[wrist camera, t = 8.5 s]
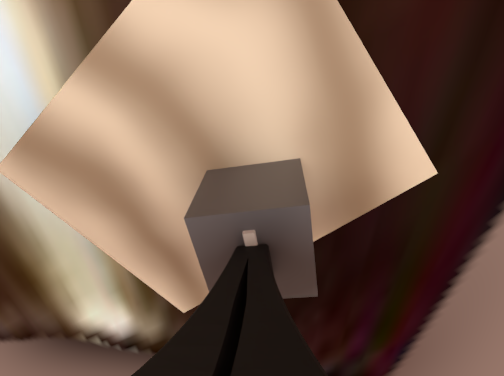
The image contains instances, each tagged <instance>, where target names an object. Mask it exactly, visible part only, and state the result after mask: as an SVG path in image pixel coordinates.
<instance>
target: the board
mask: <svg viewBox="0 0 504 376" xmlns="http://www.w3.org/2000/svg"><path fill="white" fill-rule="evenodd" d="M298 158H300V160H301V165H302V170H303V175H304V179H305V184H306V189H307V194H308V198H309V203H310V212H311V224H312V235H313V242H314V241H316V240H317V239H319V238H321V237H323V236H325V235H326V234H328V233H330V232H332V231H334V230H336V229H337V228H339V227H341V226H343V225H345V224H346V223H348V222H350V221H352V220H354V219H356V218H357V217H359V216H361V215H363V214H365V213H366V212H368V211H370V210H372V209H374V208H376V207H377V206H379V205H381V204H383V203H385V202H386V201H388V200H390V199H392V198H394V197H396V196H397V195H399V194H401V193H403V192H405V191H406V190H408V189H410V188H412V187H414V186H416V185H417V184H419V183H421V182H423V181H425V180H426V179H428V178H430V177H432V176H434V175H436V174H437V171H436V169H435V167H434V166H433V164H432V162H431V161H430V159H429V157H428V155H427V154H426V152H425V150H424V149H423V147H422V145H421V143H420V142H419V140H418V138H417V137H416V135H415V133H414V131H413V130H412V128H411V126H410V125H409V123H408V121H407V119H406V118H405V116H404V114H403V112H402V111H401V109H400V107H399V106H398V104H397V102H396V100H395V99H394V97H393V95H392V94H391V92H390V90H389V88H388V87H387V85H386V83H385V82H384V80H383V78H382V76H381V75H380V73H379V71H378V70H377V68H376V66H375V64H374V63H373V61H372V59H371V57H370V56H369V54H368V52H367V51H366V49H365V47H364V45H363V44H362V42H361V40H360V39H359V37H358V35H357V33H356V32H355V30H354V28H353V27H352V25H351V23H350V21H349V20H348V18H347V16H346V15H345V13H344V11H343V9H342V8H341V6H340V4H339V2H338V1H337V0H132V1H131V2H130V4H129V5H128V6H127V7H126V9H125V10H124V11H123V12H122V14H121V15H120V16H119V17H118V19H117V20H116V21H115V22H114V23H113V25H112V26H111V27H110V28H109V30H108V31H107V32H106V33H105V35H104V36H103V37H102V38H101V40H100V41H99V42H98V43H97V45H96V46H95V47H94V48H93V49H92V51H91V52H90V53H89V54H88V56H87V57H86V58H85V59H84V61H83V62H82V63H81V64H80V66H79V67H78V68H77V69H76V71H75V72H74V73H73V74H72V75H71V77H70V78H69V79H68V80H67V82H66V83H65V84H64V85H63V87H62V88H61V89H60V90H59V92H58V93H57V94H56V95H55V97H54V98H53V99H52V100H51V101H50V103H49V104H48V105H47V106H46V108H45V109H44V110H43V111H42V113H41V114H40V115H39V116H38V118H37V119H36V120H35V121H34V123H33V124H32V125H31V126H30V127H29V129H28V130H27V131H26V132H25V134H24V135H23V136H22V137H21V139H20V140H19V141H18V142H17V144H16V145H15V146H14V147H13V149H12V150H11V151H10V152H9V153H8V155H7V156H6V157H5V158H4V160H3V161H2V162H1V163H0V173H1V174H3V175H4V176H5V177H7V178H8V179H9V180H11V181H12V182H13V183H15V184H16V185H17V186H18V187H20V188H21V189H22V190H24V191H25V192H26V193H28V194H29V195H30V196H32V197H33V198H34V199H35V200H37V201H38V202H39V203H41V204H42V205H43V206H45V207H46V208H47V209H49V210H50V211H51V212H52V213H54V214H55V215H56V216H58V217H59V218H60V219H62V220H63V221H64V222H66V223H67V224H68V225H69V226H71V227H72V228H73V229H75V230H76V231H77V232H79V233H80V234H81V235H83V236H84V237H85V238H86V239H88V240H89V241H90V242H92V243H93V244H94V245H96V246H97V247H98V248H100V249H101V250H102V251H104V252H105V253H106V254H107V255H109V256H110V257H111V258H113V259H114V260H115V261H117V262H118V263H119V264H121V265H122V266H123V267H124V268H126V269H127V270H128V271H130V272H131V273H132V274H134V275H135V276H136V277H138V278H139V279H140V280H141V281H143V282H144V283H145V284H147V285H148V286H149V287H151V288H152V289H153V290H155V291H156V292H157V293H158V294H160V295H161V296H162V297H164V298H165V299H166V300H168V301H169V302H170V303H172V304H173V305H174V306H175V307H177V308H178V309H179V310H181V311H182V312H183V313H185V312H186V311H188V310H190V309H192V308H194V307H196V306H197V305H199V304H201V303H202V302H203V300H204V299H205V297H206V296H207V294H208V293H209V290H208V287H207V284H206V282H205V279H204V276H203V273H202V270H201V267H200V264H199V261H198V258H197V255H196V252H195V250H194V247H193V244H192V241H191V238H190V235H189V232H188V229H187V226H186V223H185V220H184V217H185V215H186V213H187V210H188V208H189V206H190V204H191V202H192V200H193V198H194V196H195V194H196V192H197V190H198V188H199V186H200V184H201V181H202V179H203V177H204V175H205V173H206V171H207V170H213V169H221V168H228V167H236V166H244V165H252V164H259V163H267V162H275V161H282V160H290V159H298Z"/></svg>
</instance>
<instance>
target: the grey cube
mask: <svg viewBox="0 0 504 376" xmlns="http://www.w3.org/2000/svg"><path fill="white" fill-rule="evenodd" d="M184 220H185V223H186V226H187V229H188V232H189V235H190V238H191V241H192V244H193V247H194V250H195V252H196V255H197V258H198V261H199V264H200V267H201V270H202V273H203V276H204V279H205V282H206V284H207V287H208V290H209V292H210V290H211V289H212V287H213V286H214V284H215V283H216V281H217V280H218V278H219V276H220V275H221V273H222V272H223V270H224V268H225V267H226V265H227V263H228V261H229V260H230V258H231V256H232V254H233V252H234V250H235V248H236V247H237V246H256V245H258V244H267V245H268V246H269V250H270V256H271V262H272V267H273V273H274V278H275V280H276V283H277V286H278V289H279V291H280V293H281V296H282V298H299V297H315V296H318V292H317V281H316V270H315V258H314V247H313V235H312V224H311V212H310V203H309V198H308V194H307V189H306V184H305V179H304V175H303V170H302V165H301V160H300V158H298V159H290V160H282V161H275V162H267V163H259V164H252V165H244V166H236V167H228V168H221V169H213V170H207V171H206V173H205V175H204V177H203V179H202V181H201V184H200V186H199V188H198V190H197V192H196V194H195V196H194V198H193V200H192V202H191V204H190V206H189V208H188V210H187V213H186V215H185V217H184Z"/></svg>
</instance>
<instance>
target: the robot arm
mask: <svg viewBox="0 0 504 376" xmlns="http://www.w3.org/2000/svg"><path fill="white" fill-rule="evenodd" d="M131 376H328V375H327V373H326V372H325V371H324V369H323V368H322V366H321V365H320V363H319V362H318V360H317V359H316V357H315V356H314V354H313V353H312V351H311V350H310V348H309V346H308V345H307V343H306V341H305V340H304V338H303V337H302V335H301V333H300V332H299V330H298V328H297V326H296V324H295V323H294V321H293V319H292V317H291V315H290V313H289V311H288V309H287V307H286V305H285V303H284V300H283V298H282V296H281V293H280V291H279V289H278V286H277V283H276V280H275V278H274V273H273V267H272V262H271V256H270V250H269V246H268V245H267V244H258V245H256V246H237V247H236V248H235V250H234V252H233V254H232V256H231V258H230V260H229V261H228V263H227V265H226V267H225V268H224V270H223V272H222V273H221V275H220V276H219V278H218V280H217V281H216V283H215V284H214V286H213V287H212V289H211V290H210V292H209V293H208V294H207V296H206V297H205V299H204V300H203V302H202V303H201V304H200V306H199V307H198V308H197V309H196V311H195V312H194V313H193V314H192V316H191V317H190V318H189V319H188V320H187V322H186V323H185V324H184V325H183V326H182V327H181V328H180V330H179V331H178V332H177V333H176V334H175V335H174V336H173V337H172V338H171V339H170V340H169V341H168V342H167V343H166V344H165V345H164V346H163V347H162V348H161V349H160V350H159V351H158V352H157V353H156V354H155V355H154V356H153V357H152V358H151V359H150V360H149V361H148V362H146V363H145V364H144V365H143V366H142V367H141V368H140V369H139V370H137V371H136V372H135V373H134V374H133V375H131Z"/></svg>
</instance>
